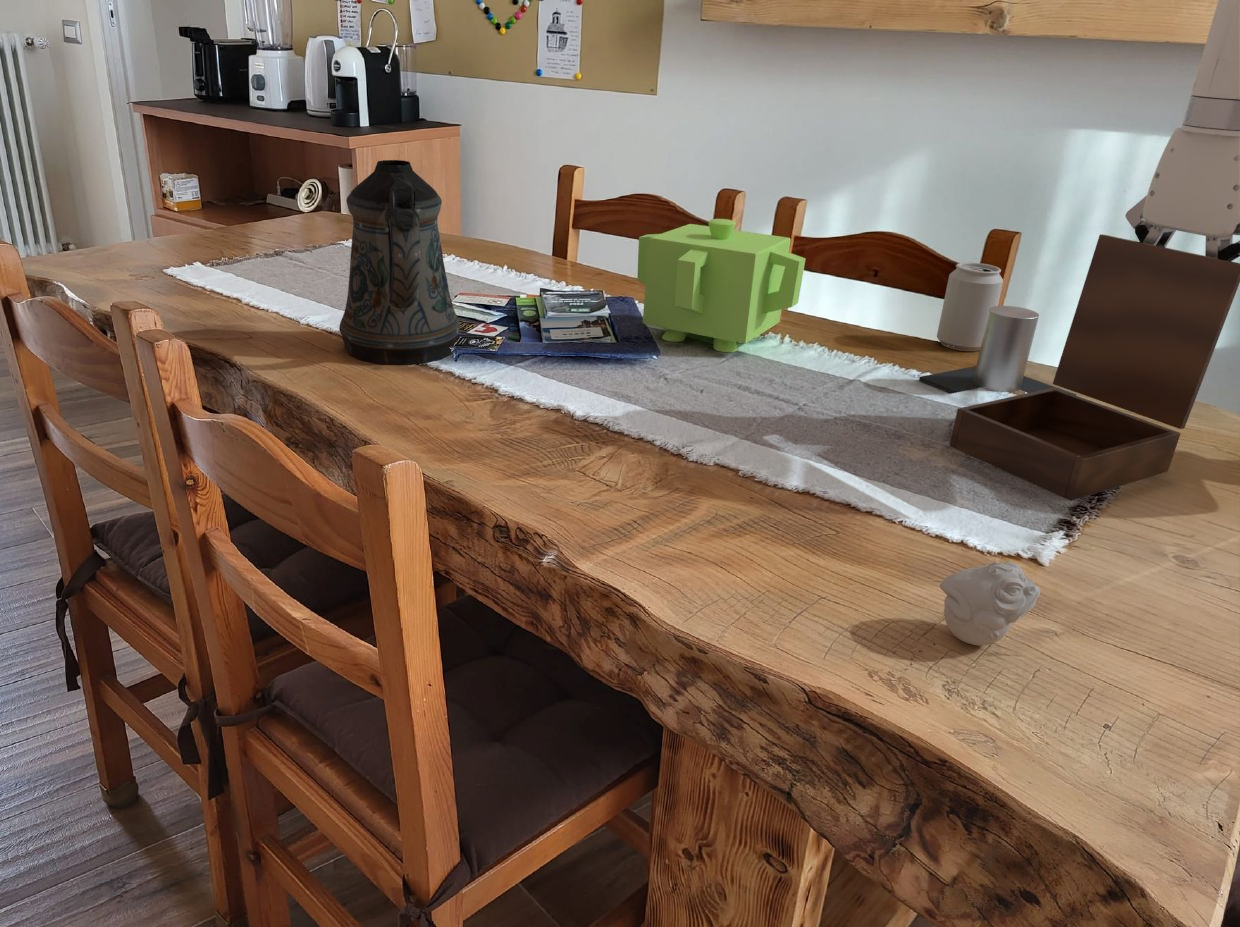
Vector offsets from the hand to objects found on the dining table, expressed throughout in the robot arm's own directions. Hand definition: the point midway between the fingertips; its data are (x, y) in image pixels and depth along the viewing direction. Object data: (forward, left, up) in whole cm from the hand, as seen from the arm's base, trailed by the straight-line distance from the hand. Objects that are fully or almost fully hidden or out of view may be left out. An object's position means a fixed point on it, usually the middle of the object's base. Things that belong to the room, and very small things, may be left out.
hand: (1172, 293), depth 109 cm
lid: (+4, 0, -4) cm, 6 cm away
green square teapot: (+19, -55, -18) cm, 61 cm away
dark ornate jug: (+63, -67, -18) cm, 94 cm away
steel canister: (-2, -20, -17) cm, 27 cm away
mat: (-2, -20, -18) cm, 27 cm away
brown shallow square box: (+13, 0, -18) cm, 22 cm away
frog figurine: (+50, +20, -18) cm, 57 cm away
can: (-14, -36, -18) cm, 43 cm away
